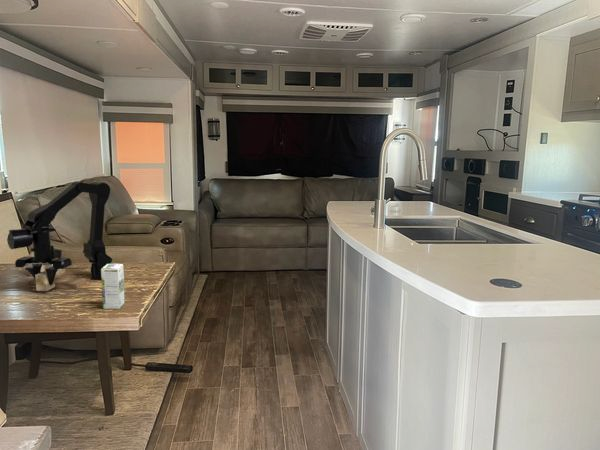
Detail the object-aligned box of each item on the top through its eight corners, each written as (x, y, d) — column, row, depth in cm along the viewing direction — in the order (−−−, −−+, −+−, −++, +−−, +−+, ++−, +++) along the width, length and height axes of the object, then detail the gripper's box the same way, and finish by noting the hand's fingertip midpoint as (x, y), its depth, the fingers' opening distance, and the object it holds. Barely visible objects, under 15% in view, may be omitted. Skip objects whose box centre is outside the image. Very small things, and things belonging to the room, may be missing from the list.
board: (86, 283, 178) (85, 278, 178) (76, 288, 172) (76, 283, 171) (38, 281, 180) (38, 276, 179) (27, 286, 173) (27, 281, 173)
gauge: (68, 279, 179) (67, 265, 178) (46, 291, 166) (45, 275, 164) (58, 279, 179) (57, 265, 178) (36, 290, 166) (34, 275, 165)
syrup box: (108, 303, 157) (105, 263, 154) (125, 303, 158) (123, 263, 155) (102, 309, 152) (99, 268, 149) (120, 309, 152) (118, 268, 149)
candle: (38, 277, 185) (35, 253, 183) (26, 276, 186) (24, 253, 184) (48, 273, 190) (46, 250, 188) (37, 272, 191) (34, 249, 189)
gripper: (78, 240, 172) (81, 279, 175) (32, 238, 174) (36, 277, 177) (61, 247, 161) (64, 288, 164) (12, 245, 163) (16, 286, 166)
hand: (45, 284), depth 168 cm, fingers closed on gauge, 4 cm apart
